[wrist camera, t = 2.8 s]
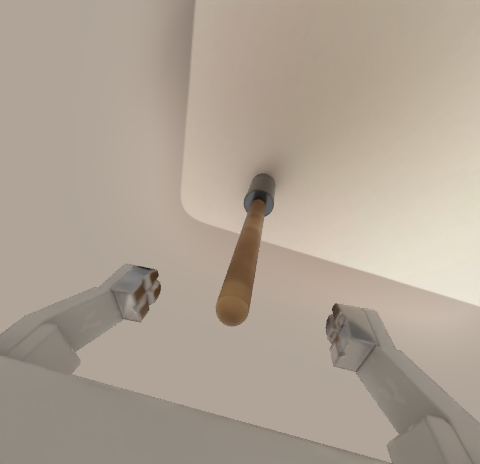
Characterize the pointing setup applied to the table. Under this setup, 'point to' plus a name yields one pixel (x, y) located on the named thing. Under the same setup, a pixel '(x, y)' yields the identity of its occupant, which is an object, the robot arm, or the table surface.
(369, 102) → the table surface
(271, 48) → the table surface
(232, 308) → the bottle brush
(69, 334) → the robot arm
